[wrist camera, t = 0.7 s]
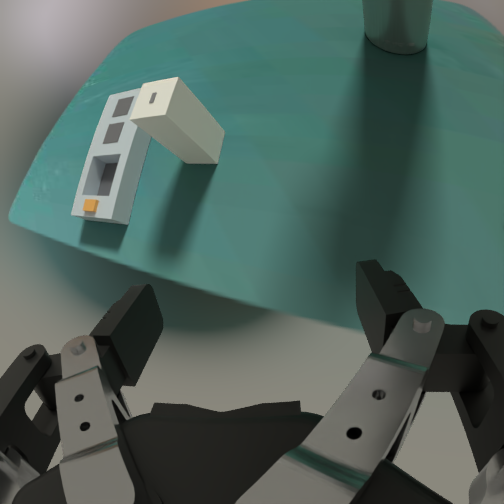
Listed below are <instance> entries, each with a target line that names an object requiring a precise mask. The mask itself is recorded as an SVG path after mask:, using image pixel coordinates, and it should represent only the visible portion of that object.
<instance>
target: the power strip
mask: <svg viewBox="0 0 504 504" xmlns="http://www.w3.org/2000/svg"><path fill="white" fill-rule="evenodd" d="M140 90H141V88H139V89H135V90H130V91H126V92H122V93H117V94H113V95H110V96H109V98H108V101H107V103H106V106H105V108H104V111H103V113H102V116H101V118H100V121H99V124H98V126H97V129H96V132H95V135H94V138H93V140H92V143H91V146H90V149H89V152H88V155H87V159H86V162H85V165H84V168H83V172H82V175H81V178H80V182H79V186H78V189H77V193H76V197H75V201H74V205H73V209H72V213H71V215H73V216H76V217H79V218H82V219H85V220H90V221H99V222H108V223H116V224H125V225H128V224H129V219H130V215H131V211H132V206H133V202H134V198H135V194H136V190H137V186H138V182H139V178H140V175H141V171H142V167H143V164H144V160H145V157H146V153H147V150H148V147H149V143H150V140H151V136H150V135H149V134H148V133H146V132H145V131H144V130H142V129H141V128H140V127H138V126H137V125H136V124H134V123H133V122H132V121H130V120H129V119H130V117H131V114H132V111H133V108H134V106H135V103H136V100H137V98H138V95H139V93H140Z"/></svg>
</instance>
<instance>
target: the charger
mask: <svg viewBox="0 0 504 504" xmlns="http://www.w3.org/2000/svg"><path fill="white" fill-rule="evenodd" d="M129 120H130V121H132V122H133V123H134V124H136V125H137V126H138V127H140V128H141V129H142V130H144V131H145V132H146V133H148V134H149V135H150V136H151V137H153V138H154V139H155V140H157V141H158V142H159V143H161V144H162V145H163V146H164V147H166V148H167V149H168V150H170V151H171V152H172V153H173V154H175V155H176V156H177V157H179V158H180V159H181V160H182V161H184V162H185V163H186V164H218V161H219V156H220V152H221V148H222V143H223V139H224V135H225V131H224V130H223V129H222V127H221V126H220V125H219V124H218V123H217V121H216V120H215V119H214V118H213V117H212V115H211V114H210V113H209V112H208V111H207V109H206V108H205V107H204V106H203V105H202V104H201V102H200V101H199V100H198V99H197V98H196V96H195V95H194V94H193V93H192V92H191V91H190V90H189V88H188V87H187V86H186V85H185V84H184V83H183V81H182V80H181V79H180V78H179V77H175V78H169V79H164V80H159V81H154V82H149V83H144V84H143V85H142V88H141V90H140V93H139V95H138V98H137V100H136V103H135V106H134V108H133V111H132V114H131V117H130V119H129Z"/></svg>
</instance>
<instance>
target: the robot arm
mask: <svg viewBox="0 0 504 504" xmlns="http://www.w3.org/2000/svg"><path fill="white" fill-rule="evenodd" d="M362 2H363V14H364V26H365V33H366V36H367V37H368V39H369V40H370V41H371V42H372V43H373V44H375V45H376V46H378V47H379V48H381V49H383V50H386V51H389V52H392V53H397V54H413V53H417V52H419V51H421V50H423V49H424V48H425V46H426V44H427V39H428V32H429V25H430V19H431V11H432V2H433V0H362ZM356 306H357V312H358V315H359V318H360V321H361V323H362V326H363V329H364V331H365V334H366V337H367V340H368V343H369V345H370V348H371V351H372V353H371V354H370V355H369V356H368V357H367V359H366V360H365V362H364V363H363V364H362V366H361V367H360V369H359V370H358V372H357V373H356V375H355V376H354V377H353V379H352V380H351V382H350V383H349V384H348V386H347V387H346V388H345V390H344V391H343V392H342V394H341V395H340V397H339V398H338V399H337V400H336V402H335V403H334V404H333V406H332V407H331V408H330V410H329V411H328V412H327V413H326V415H325V416H321V415H318V414H314V413H309V412H301V408H300V401H292V402H279V403H262V404H258V405H253V406H250V407H245V408H240V409H236V410H231V411H226V412H217V411H213V410H208V409H204V408H199V407H195V406H191V405H187V404H168V403H167V404H165V403H154V405H153V408H152V410H151V413H147V414H142V415H139V416H136V417H132V415H131V412H130V410H129V407H128V405H127V402H126V400H125V397H124V395H123V393H122V391H121V390H120V389H121V387H122V386H123V385H124V386H135V385H136V383H137V381H138V379H139V377H140V375H141V373H142V371H143V369H144V367H145V365H146V363H147V361H148V358H149V356H150V355H151V353H152V351H153V349H154V347H155V344H156V343H157V341H158V339H159V336H160V335H161V333H162V330H163V318H162V314H161V311H160V308H159V305H158V303H157V300H156V296H155V293H154V291H153V288H152V286H151V285H150V284H143V285H133V286H131V287H130V288H129V290H128V291H127V292H126V293H125V295H124V296H123V297H122V298H121V299H120V300H119V301H117V302H116V303H114V304H113V305H112V306H111V308H110V309H109V310H108V311H107V313H106V314H105V315H104V317H103V319H101V320H100V322H99V323H98V324H97V325H96V327H95V328H94V329H93V331H92V332H91V333H90V335H89V336H88V335H83V336H78V337H76V338H74V339H72V340H70V341H68V342H67V343H66V344H65V345H64V346H63V348H62V350H61V353H59V354H54V355H49V354H48V353H47V351H46V349H45V348H44V346H43V345H39V344H37V345H33V346H30V347H28V348H26V349H25V350H24V351H22V352H21V353H20V354H19V356H18V357H17V358H16V359H15V360H14V362H13V363H12V364H11V365H10V367H9V368H8V369H7V371H6V372H5V373H4V375H3V376H2V377H1V378H0V504H453V503H451V502H450V501H448V500H447V499H445V498H443V497H442V496H440V495H439V494H437V493H436V492H434V491H432V490H431V489H430V488H428V487H427V486H425V485H424V484H422V483H421V482H419V481H417V480H416V479H414V478H413V477H412V476H410V475H409V474H407V473H406V472H404V471H403V470H402V469H400V468H399V467H397V466H396V465H395V464H393V463H394V461H395V459H396V457H397V455H398V453H399V451H400V449H401V447H402V445H403V443H404V441H405V439H406V437H407V434H408V432H409V430H410V428H411V426H412V424H413V422H414V420H415V418H416V416H417V414H418V411H419V409H420V407H421V405H422V402H423V400H424V398H425V395H426V393H427V392H450V393H451V395H452V397H453V400H454V403H455V405H456V408H457V410H458V413H459V415H460V418H461V421H462V423H463V426H464V429H465V431H466V435H467V438H468V440H469V444H470V447H471V449H472V453H473V456H474V459H475V462H476V465H477V468H478V472H479V474H478V475H477V476H476V478H475V479H474V480H473V481H472V483H471V485H470V489H469V504H504V316H503V315H502V314H500V313H498V312H496V311H492V310H479V311H476V312H474V313H473V314H472V315H471V316H470V319H469V323H468V325H450V324H445V322H444V319H443V318H442V316H441V315H439V314H438V313H437V312H435V311H432V310H429V309H423V308H422V306H421V305H420V303H419V302H418V300H417V299H416V297H415V296H414V294H413V293H412V292H411V291H410V289H409V287H408V286H407V285H406V283H405V282H404V280H403V279H402V278H401V276H399V275H398V274H396V273H394V272H393V271H391V270H390V271H384V270H383V269H382V267H381V266H380V264H379V263H378V261H377V260H368V261H360V262H357V263H356ZM33 390H35V392H36V393H37V394H38V396H39V397H40V399H41V400H42V401H43V403H42V405H41V407H40V408H39V410H38V412H37V414H36V415H35V417H34V419H33V420H32V421H31V420H30V419H29V417H28V416H27V415H26V412H25V407H24V406H25V402H26V401H27V399H28V397H29V396H30V394H31V393H32V391H33ZM60 440H61V444H62V450H63V459H62V460H61V461H60V464H58V465H56V466H55V467H53V468H51V469H50V470H48V471H47V468H48V466H49V464H50V462H51V459H52V457H53V455H54V453H55V451H56V449H57V447H58V445H59V443H60ZM46 471H47V472H46Z"/></svg>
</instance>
